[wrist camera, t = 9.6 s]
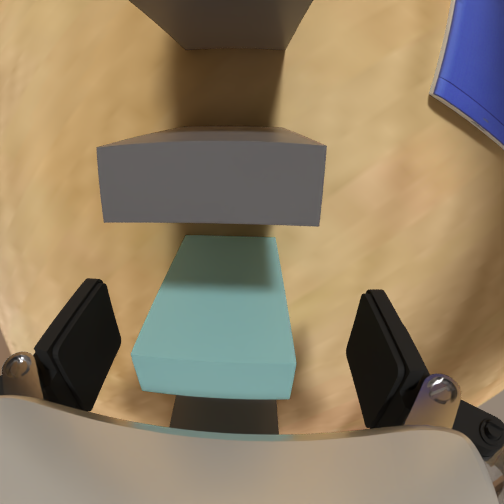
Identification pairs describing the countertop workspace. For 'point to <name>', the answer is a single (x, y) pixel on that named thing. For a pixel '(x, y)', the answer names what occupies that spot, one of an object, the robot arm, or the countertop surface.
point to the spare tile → (219, 323)
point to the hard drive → (474, 65)
